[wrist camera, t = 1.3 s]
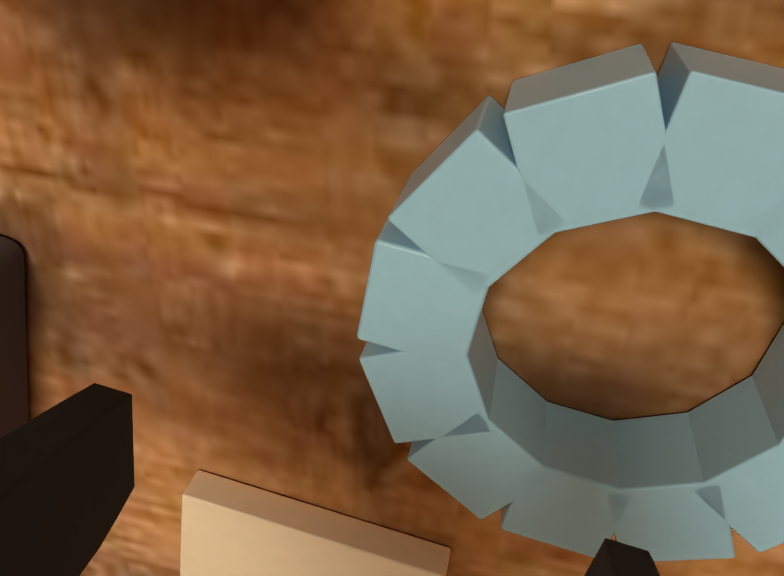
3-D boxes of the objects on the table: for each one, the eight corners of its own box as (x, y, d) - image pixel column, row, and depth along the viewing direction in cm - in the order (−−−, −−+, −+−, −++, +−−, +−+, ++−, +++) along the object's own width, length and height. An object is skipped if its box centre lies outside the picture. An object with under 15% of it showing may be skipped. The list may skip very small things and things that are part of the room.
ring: (1057, 133, 13) (1157, 182, 11) (759, 536, 20) (784, 618, 17) (443, -13, 14) (420, 5, 12) (353, 415, 21) (328, 478, 18)
